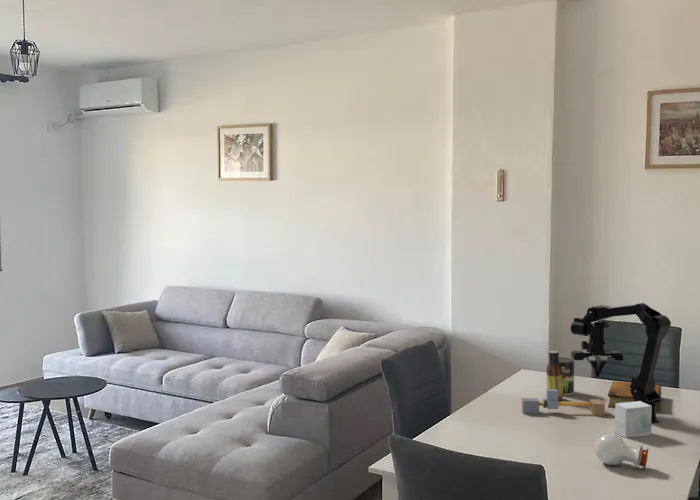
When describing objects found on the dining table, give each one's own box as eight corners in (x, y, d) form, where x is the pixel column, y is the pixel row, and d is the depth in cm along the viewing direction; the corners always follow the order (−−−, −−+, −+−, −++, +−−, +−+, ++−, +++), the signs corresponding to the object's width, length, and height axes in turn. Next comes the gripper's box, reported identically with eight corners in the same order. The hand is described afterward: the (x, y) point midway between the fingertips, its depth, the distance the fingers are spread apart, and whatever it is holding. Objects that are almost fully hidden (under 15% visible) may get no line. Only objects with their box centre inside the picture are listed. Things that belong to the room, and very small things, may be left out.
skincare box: (626, 438, 230) (626, 408, 230) (614, 432, 237) (614, 403, 236) (652, 435, 233) (652, 405, 233) (639, 429, 239) (639, 400, 239)
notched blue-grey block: (556, 406, 262) (556, 389, 262) (558, 409, 259) (558, 391, 259) (545, 406, 263) (545, 388, 262) (547, 409, 259) (547, 391, 259)
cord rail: (600, 411, 262) (600, 397, 262) (604, 415, 256) (604, 402, 256) (521, 410, 265) (521, 397, 265) (523, 414, 259) (523, 401, 259)
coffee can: (574, 396, 283) (574, 363, 283) (549, 394, 286) (548, 361, 286) (574, 390, 293) (574, 357, 292) (549, 388, 296) (549, 356, 295)
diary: (660, 414, 259) (660, 399, 259) (607, 408, 267) (607, 394, 267) (661, 398, 280) (661, 384, 279) (612, 393, 288) (612, 380, 287)
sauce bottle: (561, 397, 282) (561, 350, 281) (564, 401, 276) (564, 353, 275) (545, 397, 283) (545, 350, 282) (548, 401, 277) (548, 353, 276)
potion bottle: (592, 464, 211) (644, 478, 204) (589, 454, 204) (643, 469, 197) (598, 435, 215) (649, 448, 208) (596, 425, 208) (649, 438, 200)
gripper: (615, 334, 273) (615, 372, 273) (568, 334, 275) (568, 372, 275) (624, 339, 262) (623, 379, 262) (574, 339, 263) (574, 378, 264)
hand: (596, 377), depth 266 cm, fingers closed
